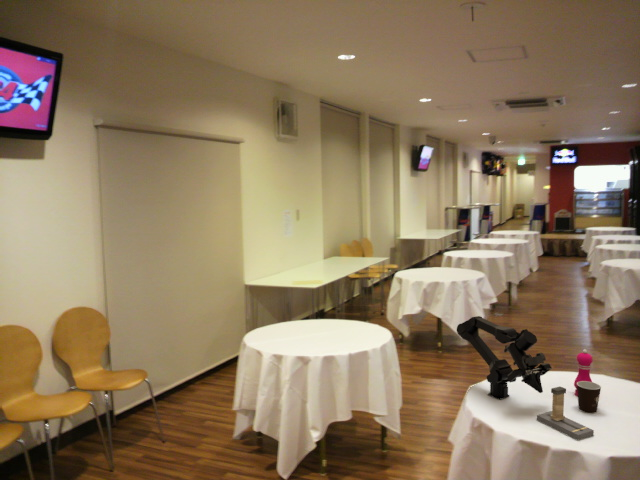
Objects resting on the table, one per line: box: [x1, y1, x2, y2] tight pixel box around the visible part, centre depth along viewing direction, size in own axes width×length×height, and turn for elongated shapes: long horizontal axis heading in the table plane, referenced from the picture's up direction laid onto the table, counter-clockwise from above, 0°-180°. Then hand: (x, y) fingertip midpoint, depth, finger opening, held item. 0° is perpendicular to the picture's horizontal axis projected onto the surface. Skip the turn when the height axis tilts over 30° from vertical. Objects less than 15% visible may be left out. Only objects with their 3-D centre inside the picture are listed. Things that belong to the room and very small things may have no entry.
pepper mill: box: [573, 349, 594, 397], centre depth 222 cm, size 7×7×20 cm
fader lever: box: [550, 386, 567, 421], centre depth 195 cm, size 3×5×12 cm, turn 115°
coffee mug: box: [577, 381, 602, 414], centre depth 209 cm, size 12×9×10 cm
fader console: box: [536, 410, 595, 441], centre depth 193 cm, size 18×8×2 cm, turn 25°
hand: (541, 392), depth 202 cm, fingers closed
